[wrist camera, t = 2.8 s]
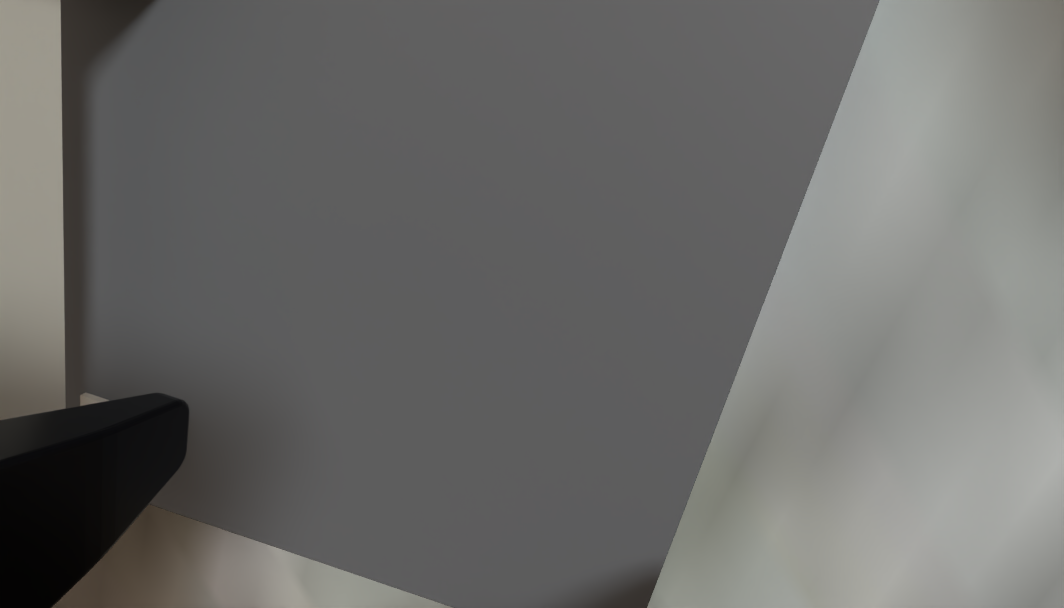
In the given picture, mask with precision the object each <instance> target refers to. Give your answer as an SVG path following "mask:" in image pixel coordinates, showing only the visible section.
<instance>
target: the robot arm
mask: <svg viewBox="0 0 1064 608" xmlns="http://www.w3.org/2000/svg"><path fill="white" fill-rule="evenodd" d="M188 428H189V406H188V404H187V403H186V402H185V401H184V400H182V399H179V398H176V397H173V396H170V395H167V394H164V393H158V392H157V393H150V394H144V395H139V396H133V397H127V398H122V399H116V400H110V401H105V402H99V403H93V404H88V405H82V406H77V407H71V408H65V409H60V410H54V411H48V412H43V413H37V414H31V415H26V416H20V417H14V418H9V419H3V420H0V608H51V607H52V606H53V605H55V604H56V603H57V602H58V601H59V600H60V599H61V598H62V597H63V596H64V595H65V594H66V593H67V592H68V591H69V590H70V589H71V588H72V587H73V586H74V585H75V584H76V583H77V582H78V581H79V580H80V579H81V578H82V577H83V576H85V575H86V574H87V573H88V572H89V570H90V569H91V568H92V567H93V566H94V565H95V564H96V563H97V562H98V561H99V560H100V559H101V558H102V557H103V556H104V555H105V554H106V553H107V552H108V551H109V550H110V548H111V547H112V546H113V545H114V544H115V543H116V542H117V541H118V539H119V538H120V537H121V536H122V535H123V534H124V532H125V531H126V530H127V529H128V528H129V527H130V525H131V524H132V523H133V522H134V521H135V520H136V519H137V517H138V516H139V515H140V514H141V513H142V512H143V510H144V509H145V508H146V507H147V506H148V505H149V503H150V502H151V501H152V500H153V499H154V498H155V496H156V495H157V494H158V493H159V492H160V491H161V489H162V488H163V487H164V486H165V485H166V484H167V482H168V481H169V480H170V479H171V478H172V477H173V475H174V474H175V473H176V472H177V471H178V469H179V468H180V467H181V465H182V463H183V461H184V459H185V456H186V452H187V442H188Z"/></svg>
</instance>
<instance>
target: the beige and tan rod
mask: <svg viewBox="0 0 1064 608" xmlns="http://www.w3.org/2000/svg"><path fill="white" fill-rule="evenodd" d="M65 408H66V399H65V320H64V240H63V160H62V81H61V1H60V0H0V420H3V419H9V418H14V417H20V416H26V415H31V414H37V413H43V412H48V411H54V410H60V409H65Z"/></svg>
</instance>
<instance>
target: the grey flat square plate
mask: <svg viewBox="0 0 1064 608" xmlns="http://www.w3.org/2000/svg"><path fill="white" fill-rule="evenodd" d="M60 1H61V81H62V160H63V240H64V320H65V399H66V408H71V407H77V406H82V405H88V404H93V403H99V402H105V401H110V400H116V399H122V398H127V397H133V396H139V395H144V394H150V393H157V392H158V393H164V394H167V395H170V396H173V397H176V398H179V399H182V400H184V401H185V402H186V403H187V404H188V406H189V428H188V442H187V452H186V456H185V459H184V461H183V463H182V465H181V467H180V468H179V469H178V471H177V472H176V473H175V474H174V475H173V477H172V478H171V479H170V480H169V481H168V482H167V484H166V485H165V486H164V487H163V488H162V489H161V491H160V492H159V493H158V494H157V495H156V496H155V498H154V499H153V500H152V501H151V502H150V503H149V504H150V505H153V506H156V507H159V508H162V509H165V510H168V511H171V512H174V513H176V514H179V515H182V516H185V517H188V518H191V519H194V520H197V521H200V522H203V523H206V524H209V525H212V526H215V527H218V528H221V529H224V530H227V531H229V532H232V533H235V534H238V535H241V536H244V537H247V538H250V539H253V540H256V541H259V542H262V543H265V544H268V545H271V546H274V547H277V548H280V549H282V550H285V551H288V552H291V553H294V554H297V555H300V556H303V557H306V558H309V559H312V560H315V561H318V562H321V563H324V564H327V565H330V566H333V567H335V568H338V569H341V570H344V571H347V572H350V573H353V574H356V575H359V576H362V577H365V578H368V579H371V580H374V581H377V582H380V583H383V584H386V585H389V586H391V587H394V588H397V589H400V590H403V591H406V592H409V593H412V594H415V595H418V596H421V597H424V598H427V599H430V600H433V601H436V602H439V603H442V604H444V605H447V606H450V607H453V608H647V606H648V603H649V601H650V598H651V595H652V593H653V590H654V588H655V585H656V582H657V580H658V577H659V575H660V572H661V569H662V567H663V564H664V562H665V559H666V556H667V554H668V551H669V548H670V546H671V543H672V541H673V538H674V535H675V533H676V530H677V528H678V525H679V522H680V520H681V517H682V515H683V512H684V509H685V507H686V504H687V501H688V499H689V496H690V494H691V491H692V488H693V486H694V483H695V481H696V478H697V475H698V473H699V470H700V468H701V465H702V462H703V460H704V457H705V455H706V452H707V449H708V447H709V444H710V441H711V439H712V436H713V434H714V431H715V428H716V426H717V423H718V421H719V418H720V415H721V413H722V410H723V408H724V405H725V402H726V400H727V397H728V394H729V392H730V389H731V387H732V384H733V381H734V379H735V376H736V374H737V371H738V368H739V366H740V363H741V361H742V358H743V355H744V353H745V350H746V347H747V345H748V342H749V340H750V337H751V334H752V332H753V329H754V327H755V324H756V321H757V319H758V316H759V314H760V311H761V308H762V306H763V303H764V301H765V298H766V295H767V293H768V290H769V287H770V285H771V282H772V280H773V277H774V274H775V272H776V269H777V267H778V264H779V261H780V259H781V256H782V254H783V251H784V248H785V246H786V243H787V240H788V238H789V235H790V233H791V230H792V227H793V225H794V222H795V220H796V217H797V214H798V212H799V209H800V207H801V204H802V201H803V199H804V196H805V194H806V191H807V188H808V186H809V183H810V180H811V178H812V175H813V173H814V170H815V167H816V165H817V162H818V160H819V157H820V154H821V152H822V149H823V147H824V144H825V141H826V139H827V136H828V133H829V131H830V128H831V126H832V123H833V120H834V118H835V115H836V113H837V110H838V107H839V105H840V102H841V100H842V97H843V94H844V92H845V89H846V86H847V84H848V81H849V79H850V76H851V73H852V71H853V68H854V66H855V63H856V60H857V58H858V55H859V53H860V50H861V47H862V45H863V42H864V40H865V37H866V34H867V32H868V29H869V26H870V24H871V21H872V19H873V16H874V13H875V11H876V8H877V6H878V3H879V0H60Z"/></svg>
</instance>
